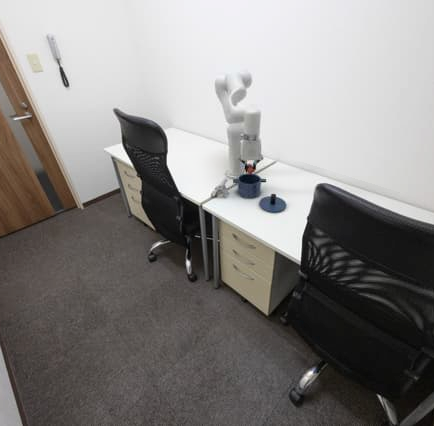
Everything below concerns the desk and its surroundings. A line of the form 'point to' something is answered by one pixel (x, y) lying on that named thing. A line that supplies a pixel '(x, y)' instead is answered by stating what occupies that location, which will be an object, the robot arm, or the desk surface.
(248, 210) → the desk surface
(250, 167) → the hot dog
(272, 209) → the lid
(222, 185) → the tablet stand
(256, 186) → the pot
